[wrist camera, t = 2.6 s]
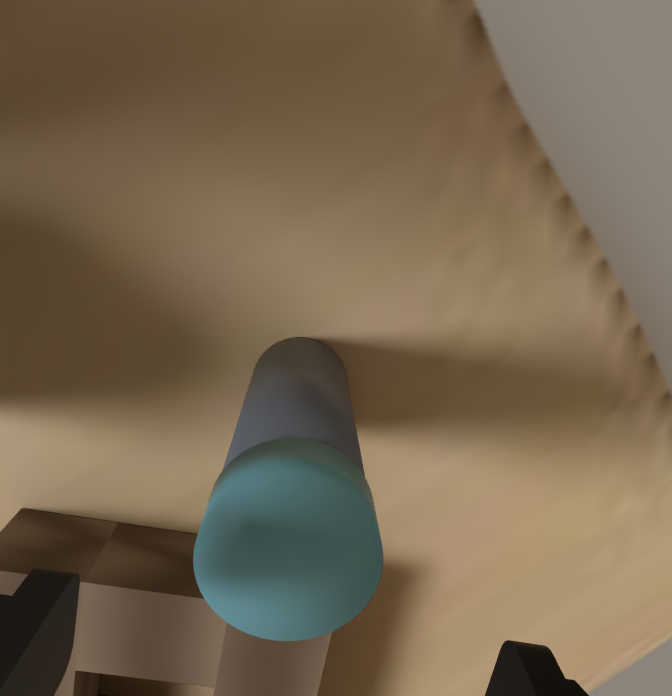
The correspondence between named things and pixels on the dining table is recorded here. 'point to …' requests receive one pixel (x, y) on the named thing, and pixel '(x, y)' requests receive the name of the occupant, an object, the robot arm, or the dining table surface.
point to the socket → (149, 611)
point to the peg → (291, 504)
